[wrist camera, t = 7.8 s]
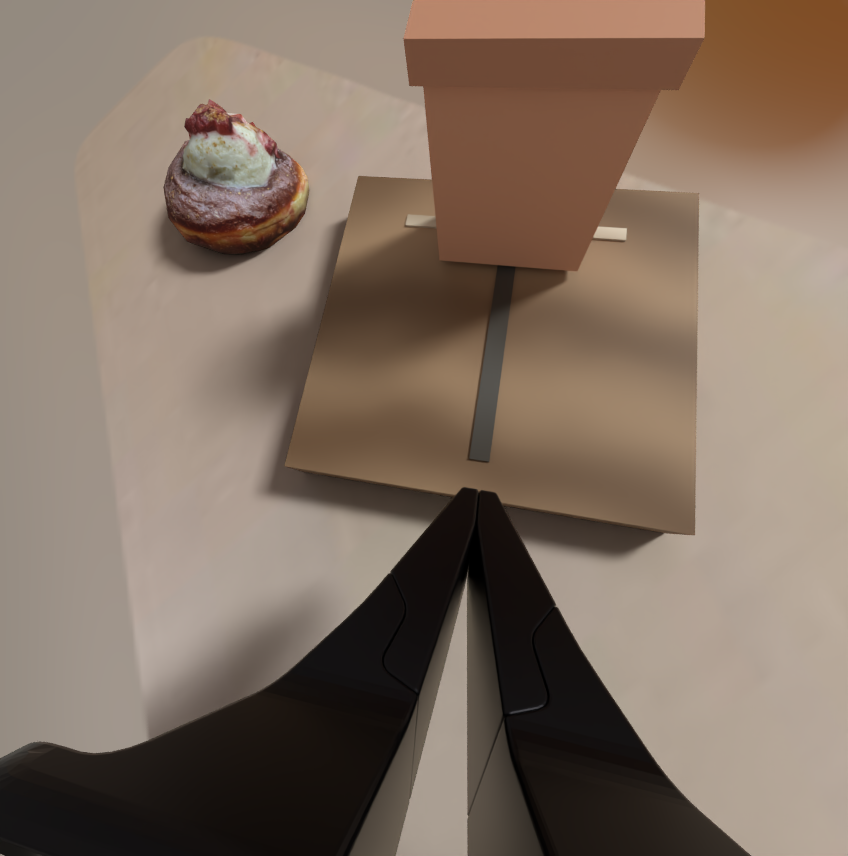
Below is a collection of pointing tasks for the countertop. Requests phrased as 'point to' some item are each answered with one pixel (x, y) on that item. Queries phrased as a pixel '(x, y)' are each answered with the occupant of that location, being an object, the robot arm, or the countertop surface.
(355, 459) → the fader track
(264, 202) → the pastry
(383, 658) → the robot arm
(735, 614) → the countertop surface
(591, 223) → the handle
